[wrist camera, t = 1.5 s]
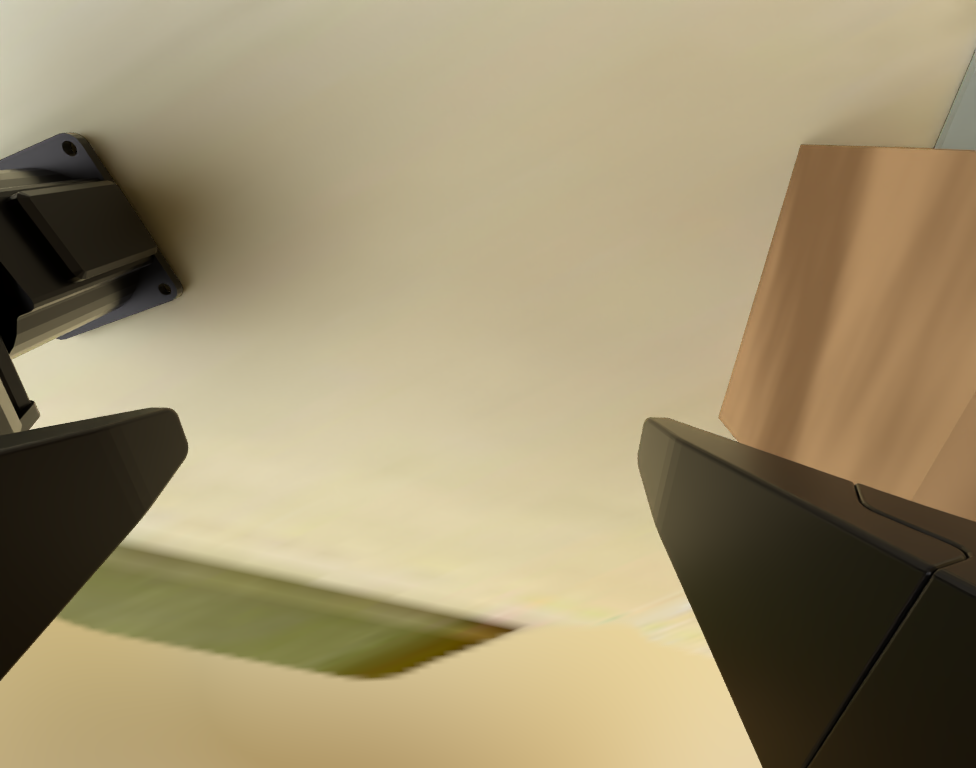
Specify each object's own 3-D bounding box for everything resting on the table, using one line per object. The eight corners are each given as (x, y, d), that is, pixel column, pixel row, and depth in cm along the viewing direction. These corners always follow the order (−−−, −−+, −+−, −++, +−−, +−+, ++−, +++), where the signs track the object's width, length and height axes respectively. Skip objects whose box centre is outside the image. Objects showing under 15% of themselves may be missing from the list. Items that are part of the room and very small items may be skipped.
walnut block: (718, 417, 23) (858, 591, 14) (800, 144, 18) (1111, 157, 9) (805, 418, 23) (998, 593, 15) (915, 147, 18) (1341, 163, 9)
